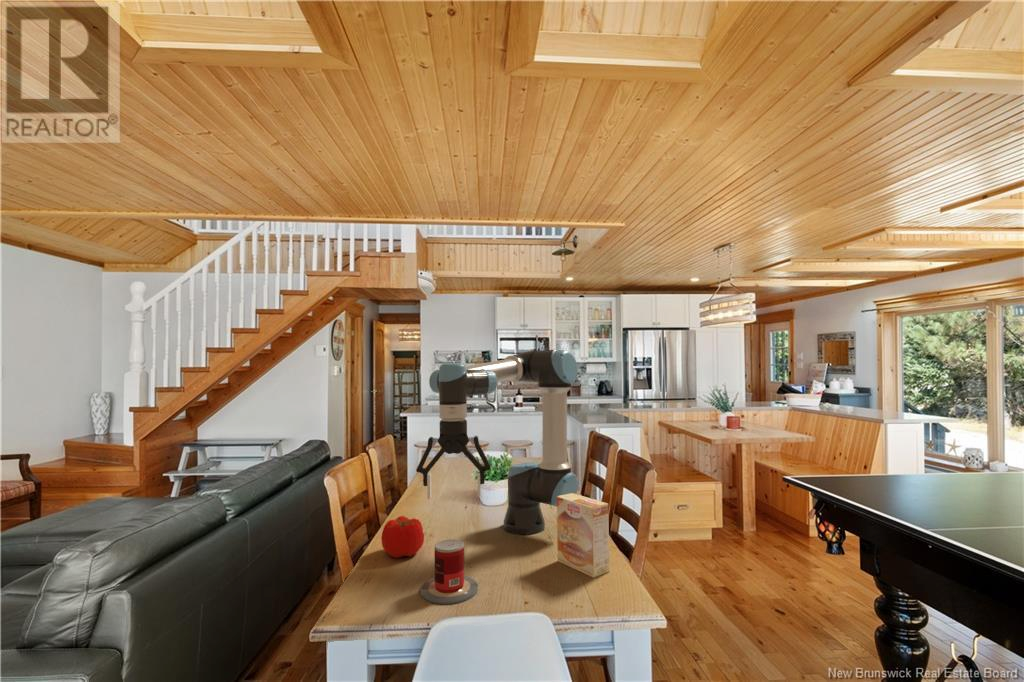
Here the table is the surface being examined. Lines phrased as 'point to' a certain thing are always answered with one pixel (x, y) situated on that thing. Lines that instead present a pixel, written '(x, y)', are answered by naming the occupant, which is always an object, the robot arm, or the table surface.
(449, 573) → the canned food
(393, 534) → the tomato
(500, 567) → the table surface
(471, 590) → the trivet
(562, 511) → the coffeecake box
